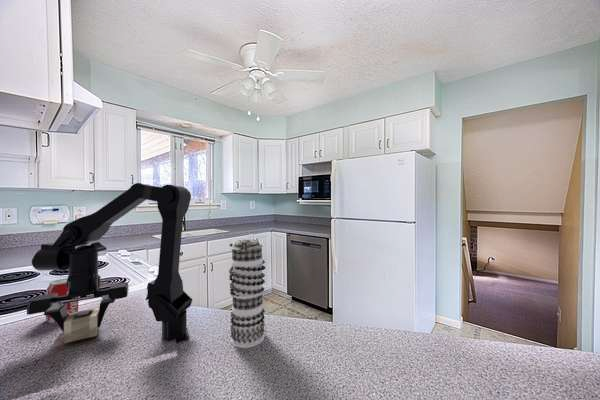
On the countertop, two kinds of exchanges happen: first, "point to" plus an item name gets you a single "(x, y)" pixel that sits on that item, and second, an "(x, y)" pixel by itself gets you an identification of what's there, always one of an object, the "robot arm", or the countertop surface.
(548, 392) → the countertop surface
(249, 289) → the decorative candle
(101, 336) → the metal post stand
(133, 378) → the countertop surface
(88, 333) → the ash wood collar block
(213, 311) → the countertop surface
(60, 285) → the soda can
